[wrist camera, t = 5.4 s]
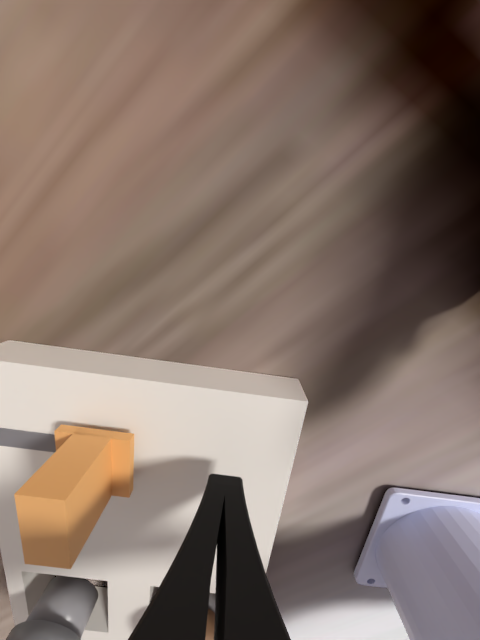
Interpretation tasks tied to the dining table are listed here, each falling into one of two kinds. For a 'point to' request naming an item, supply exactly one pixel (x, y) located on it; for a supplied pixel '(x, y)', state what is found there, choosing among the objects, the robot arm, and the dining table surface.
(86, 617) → the grey push button
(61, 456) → the slider handle
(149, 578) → the panel
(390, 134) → the dining table surface
